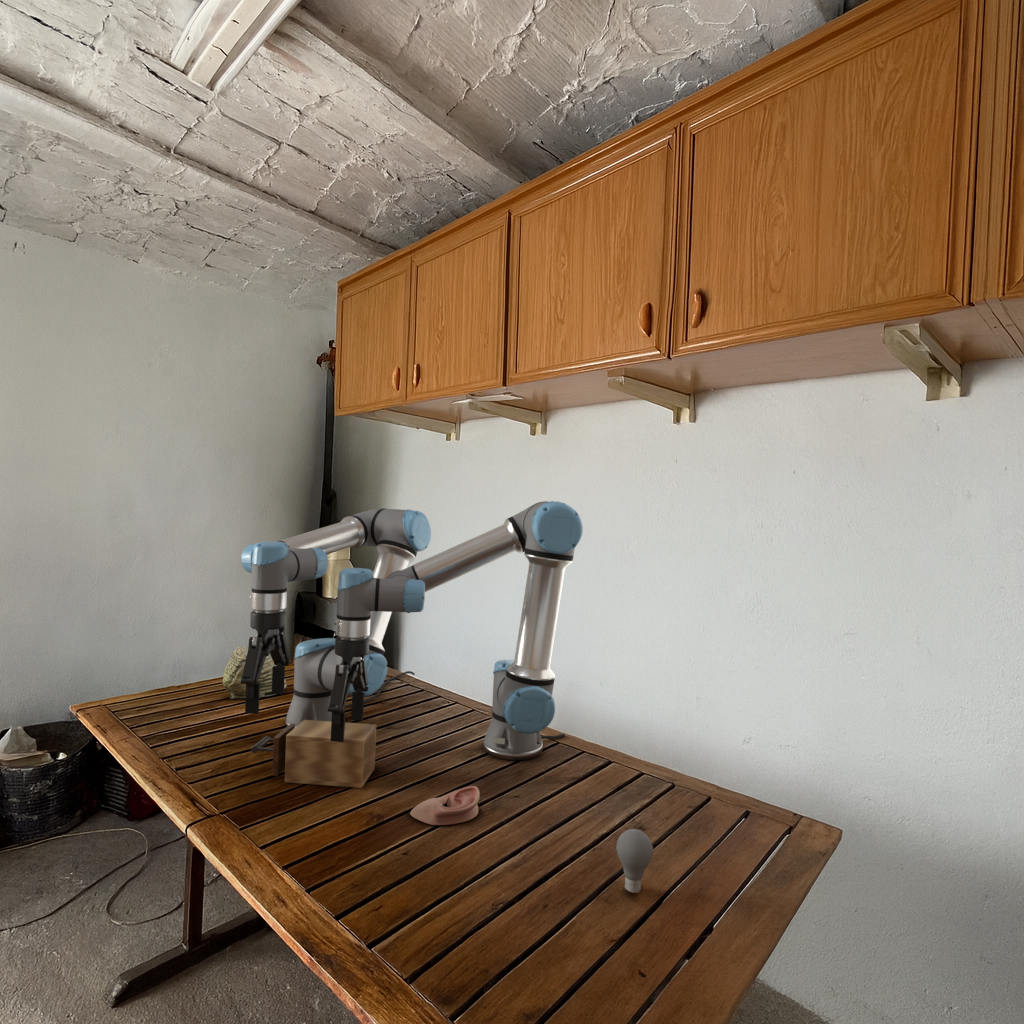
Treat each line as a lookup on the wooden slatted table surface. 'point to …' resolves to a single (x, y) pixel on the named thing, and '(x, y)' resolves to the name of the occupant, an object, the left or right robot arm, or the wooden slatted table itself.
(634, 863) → the light bulb
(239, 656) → the fossil
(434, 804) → the anatomical model
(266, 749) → the drawer
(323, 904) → the wooden slatted table surface
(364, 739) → the cabinet
